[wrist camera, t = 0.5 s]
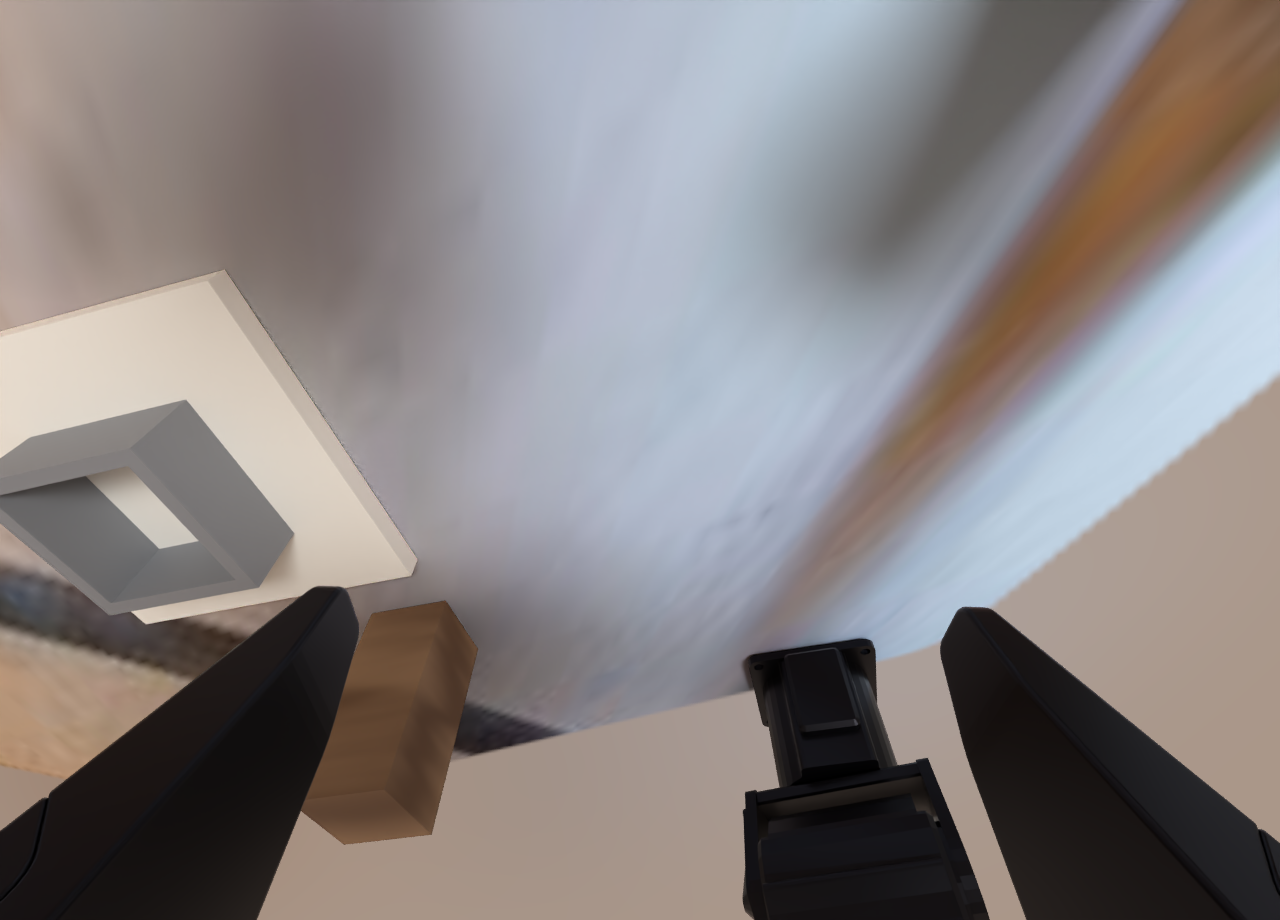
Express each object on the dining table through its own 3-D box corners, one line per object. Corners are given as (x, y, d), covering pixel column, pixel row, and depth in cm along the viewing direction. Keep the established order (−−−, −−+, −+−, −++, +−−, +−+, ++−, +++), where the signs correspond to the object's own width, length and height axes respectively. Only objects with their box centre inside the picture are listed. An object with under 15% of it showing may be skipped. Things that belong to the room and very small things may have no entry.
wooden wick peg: (478, 649, 32) (431, 834, 25) (409, 660, 33) (344, 844, 26) (445, 600, 30) (384, 789, 23) (372, 613, 31) (289, 801, 23)
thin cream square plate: (417, 559, 28) (389, 630, 25) (159, 607, 30) (101, 679, 27) (224, 269, 20) (145, 319, 17) (-112, 362, 22) (-239, 422, 19)
